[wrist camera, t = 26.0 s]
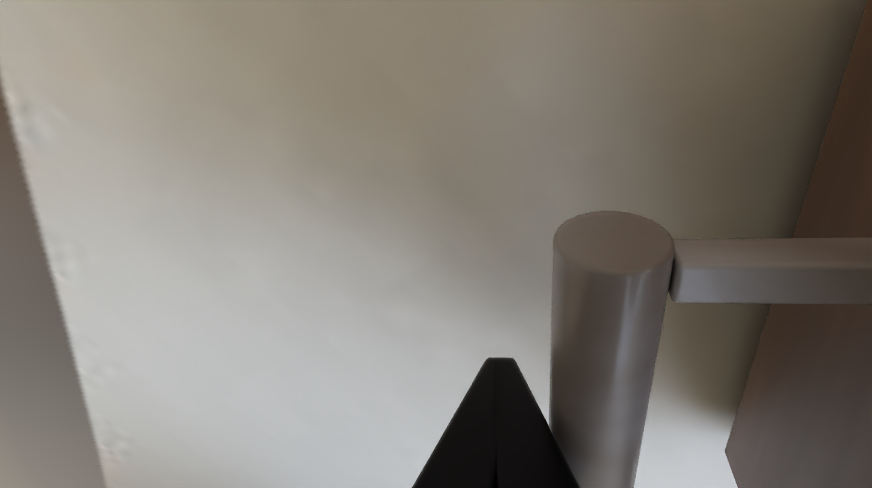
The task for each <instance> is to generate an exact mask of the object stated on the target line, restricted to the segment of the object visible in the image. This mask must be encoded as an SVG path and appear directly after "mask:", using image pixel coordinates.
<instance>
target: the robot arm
mask: <svg viewBox="0 0 872 488" xmlns="http://www.w3.org/2000/svg"><path fill="white" fill-rule="evenodd" d="M412 488H580V486H579V484H578V482H577V480H576V478H575V477H574V475H573V473H572V471H571V469H570V467H569V465H568V463H567V461H566V459H565V457H564V455H563V453H562V451H561V449H560V447H559V445H558V443H557V441H556V439H555V437H554V435H553V433H552V431H551V429H550V428H549V426H548V424H547V422H546V420H545V418H544V416H543V414H542V412H541V410H540V408H539V406H538V404H537V402H536V400H535V398H534V396H533V394H532V392H531V390H530V388H529V386H528V384H527V382H526V380H525V379H524V377H523V375H522V373H521V371H520V369H519V367H518V365H517V363H516V361H515V360H514V359H513V358H488V359H486V361H485V362H484V364H483V366H482V367H481V369H480V371H479V372H478V374H477V376H476V378H475V379H474V381H473V383H472V385H471V386H470V388H469V390H468V392H467V393H466V395H465V397H464V399H463V400H462V402H461V404H460V405H459V407H458V409H457V411H456V412H455V414H454V416H453V418H452V419H451V421H450V423H449V425H448V426H447V428H446V430H445V432H444V433H443V435H442V437H441V438H440V440H439V442H438V444H437V445H436V447H435V449H434V451H433V452H432V454H431V456H430V458H429V459H428V461H427V463H426V465H425V466H424V468H423V470H422V471H421V473H420V475H419V477H418V478H417V480H416V482H415V484H414V485H413V487H412Z"/></svg>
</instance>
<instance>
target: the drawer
mask: <svg viewBox="0 0 872 488" xmlns="http://www.w3.org/2000/svg"><path fill="white" fill-rule="evenodd" d="M668 291H669V294H670V296H671V299H672V300H673V301H674V302H679V303H766V304H771V307H770V310H769V313H768V316H767V319H766V322H765V326H764V329H763V332H762V335H761V338H760V341H759V344H758V348H757V351H756V354H755V357H754V360H753V363H752V367H751V370H750V373H749V376H748V379H747V382H746V385H745V389H744V392H743V395H742V398H741V401H740V404H739V407H738V411H737V414H736V417H735V420H734V423H733V426H732V430H731V433H730V436H729V439H728V442H727V445H726V448H725V453H726V456H727V459H728V462H729V464H730V467H731V470H732V473H733V475H734V478H735V481H736V483H737V486H738V488H872V0H868V1H867V4H866V7H865V10H864V13H863V16H862V20H861V23H860V26H859V29H858V32H857V35H856V39H855V42H854V45H853V48H852V51H851V54H850V57H849V61H848V64H847V67H846V70H845V73H844V76H843V80H842V83H841V86H840V89H839V92H838V95H837V98H836V102H835V105H834V108H833V111H832V114H831V117H830V121H829V124H828V127H827V130H826V133H825V136H824V139H823V143H822V146H821V149H820V152H819V155H818V158H817V162H816V165H815V168H814V171H813V174H812V177H811V180H810V184H809V187H808V190H807V193H806V196H805V199H804V203H803V206H802V209H801V212H800V215H799V218H798V221H797V225H796V228H795V231H794V234H793V237H792V238H766V239H672V237H671V235H670V233H669V232H668V231H667V230H666V229H665V228H664V227H663V226H661V225H660V224H658V223H656V222H654V221H653V220H650V219H648V218H645V217H643V216H640V215H636V214H631V213H626V212H618V211H597V212H590V213H585V214H581V215H578V216H575V217H573V218H570V219H568V220H567V221H565V222H564V223H563V224H562V225H561V226H560V227H559V228H558V230H557V231H556V233H555V235H554V238H553V271H552V315H551V360H550V404H549V428H550V429H551V431H552V433H553V435H554V437H555V439H556V441H557V443H558V445H559V447H560V449H561V451H562V453H563V455H564V457H565V459H566V461H567V463H568V465H569V467H570V469H571V471H572V473H573V475H574V477H575V478H576V480H577V482H578V484H579V486H580V488H634V482H635V476H636V471H637V465H638V459H639V454H640V448H641V442H642V437H643V431H644V425H645V419H646V414H647V408H648V402H649V397H650V391H651V385H652V380H653V374H654V368H655V363H656V357H657V351H658V345H659V340H660V334H661V328H662V323H663V317H664V311H665V306H666V300H667V294H668Z"/></svg>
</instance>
